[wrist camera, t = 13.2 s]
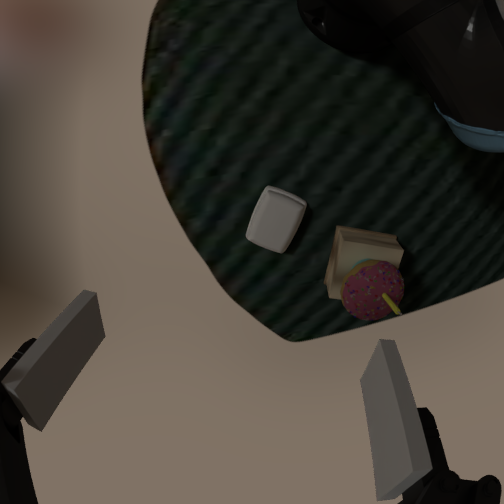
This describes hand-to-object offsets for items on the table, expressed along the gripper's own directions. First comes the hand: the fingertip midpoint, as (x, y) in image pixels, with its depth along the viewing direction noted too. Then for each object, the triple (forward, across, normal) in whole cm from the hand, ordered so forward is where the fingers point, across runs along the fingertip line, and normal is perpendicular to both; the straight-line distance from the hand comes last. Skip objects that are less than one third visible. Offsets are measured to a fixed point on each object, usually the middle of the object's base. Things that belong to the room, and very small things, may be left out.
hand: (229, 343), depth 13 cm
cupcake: (+28, +15, -10) cm, 33 cm away
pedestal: (+33, +15, -10) cm, 37 cm away
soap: (+33, +1, -5) cm, 34 cm away
